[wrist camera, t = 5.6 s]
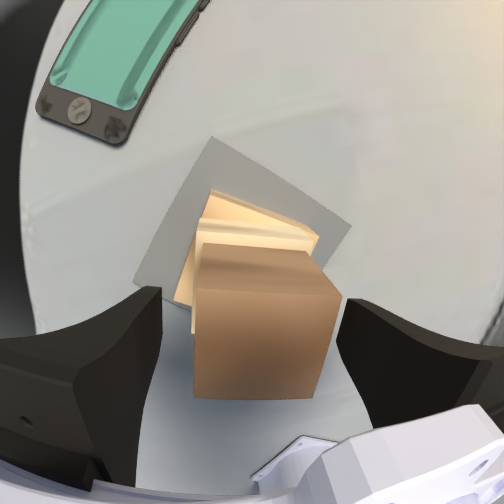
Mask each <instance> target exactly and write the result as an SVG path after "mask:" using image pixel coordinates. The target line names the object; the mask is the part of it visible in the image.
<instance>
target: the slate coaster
mask: <svg viewBox="0 0 504 504" xmlns="http://www.w3.org/2000/svg"><path fill="white" fill-rule="evenodd" d="M211 189H213V190H216V191H219V192H222V193H224V194H227V195H230V196H233V197H235V198H238V199H241V200H243V201H246V202H249V203H251V204H254V205H256V206H259V207H262V208H264V209H267V210H269V211H272V212H275V213H277V214H280V215H282V216H285V217H287V218H290V219H292V220H295V221H297V222H300V223H302V224H305V225H307V226H308V227H309V228H310V229H312V230H313V231H314V232H315V233H316V234H317V235H318V236H319V239H318V241H317V243H316V245H315V247H314V250H313V252H312V254H311V258H312V259H313V261H314V262H315V263H316V264H317V265H318V267H319V268H320V269H321V270H322V269H323V268H324V266H325V265H326V263H327V262H328V260H329V259H330V257H331V256H332V255H333V253H334V252H335V250H336V249H337V247H338V246H339V244H340V243H341V241H342V240H343V238H344V237H345V235H346V234H347V232H348V231H349V229H350V227H351V225H350V224H349V223H347V222H346V221H344V220H343V219H342V218H340V217H339V216H337V215H336V214H334V213H333V212H331V211H330V210H329V209H327V208H326V207H324V206H323V205H321V204H320V203H318V202H317V201H315V200H314V199H312V198H311V197H309V196H308V195H306V194H305V193H303V192H302V191H300V190H299V189H297V188H296V187H294V186H293V185H291V184H290V183H288V182H287V181H285V180H283V179H282V178H280V177H279V176H277V175H276V174H274V173H272V172H271V171H269V170H268V169H266V168H264V167H263V166H261V165H260V164H258V163H256V162H255V161H253V160H251V159H250V158H248V157H247V156H245V155H243V154H242V153H240V152H238V151H237V150H235V149H233V148H231V147H230V146H228V145H226V144H225V143H223V142H221V141H219V140H218V139H216V138H214V137H213V136H211V138H210V139H209V141H208V143H207V144H206V146H205V147H204V149H203V151H202V152H201V154H200V156H199V157H198V159H197V161H196V162H195V164H194V166H193V167H192V169H191V171H190V173H189V174H188V176H187V178H186V179H185V181H184V183H183V185H182V186H181V188H180V190H179V192H178V194H177V195H176V197H175V199H174V201H173V203H172V204H171V206H170V208H169V210H168V212H167V214H166V215H165V217H164V219H163V221H162V223H161V225H160V227H159V229H158V231H157V232H156V234H155V236H154V238H153V240H152V242H151V244H150V246H149V248H148V250H147V252H146V254H145V256H144V258H143V260H142V262H141V264H140V266H139V268H138V271H137V273H136V275H135V277H134V279H133V281H132V282H134V283H136V284H138V285H139V286H141V287H144V286H156V287H162V298H164V299H166V300H168V301H170V302H172V303H174V304H176V305H178V306H180V307H182V308H184V309H186V310H188V311H190V312H192V306H189V305H186V304H183V303H180V302H177V301H174V300H173V299H174V295H175V292H176V288H177V284H178V281H179V278H180V275H181V272H182V269H183V266H184V263H185V260H186V257H187V254H188V251H189V248H190V246H191V243H192V240H193V237H194V234H195V231H196V229H197V226H198V223H199V219H200V217H201V215H202V212H203V209H204V207H205V204H206V201H207V198H208V196H209V193H210V191H211Z"/></svg>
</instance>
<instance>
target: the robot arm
mask: <svg viewBox="0 0 504 504" xmlns="http://www.w3.org/2000/svg"><path fill="white" fill-rule="evenodd" d="M162 334H163V330H162V287H156V286H144V287H143V288H141V289H139V290H138V291H136V292H135V293H133V294H132V295H130V296H129V297H127V298H126V299H124V300H123V301H121V302H120V303H118V304H116V305H115V306H113V307H111V308H109V309H108V310H106V311H104V312H102V313H101V314H99V315H97V316H95V317H93V318H90V319H88V320H86V321H83V322H81V323H78V324H76V325H73V326H69V327H66V328H63V329H60V330H57V331H53V332H49V333H44V334H39V335H34V336H27V337H18V338H6V339H0V504H491V503H492V502H494V501H495V500H497V499H498V498H499V497H500V496H502V495H503V494H504V347H497V346H486V345H480V344H474V343H469V342H464V341H461V340H457V339H453V338H449V337H446V336H443V335H440V334H438V333H435V332H432V331H429V330H427V329H425V328H422V327H420V326H418V325H416V324H413V323H411V322H409V321H407V320H405V319H403V318H401V317H399V316H397V315H395V314H393V313H391V312H389V311H387V310H385V309H383V308H381V307H379V306H377V305H375V304H373V303H371V302H369V301H366V300H363V299H349V298H348V299H347V303H346V307H345V310H344V314H343V318H342V321H341V325H340V328H339V332H338V335H337V338H336V343H337V347H338V350H339V353H340V356H341V359H342V361H343V363H344V365H345V367H346V369H347V371H348V373H349V375H350V377H351V379H352V381H353V382H354V384H355V386H356V388H357V390H358V392H359V394H360V396H361V398H362V400H363V402H364V404H365V406H366V409H367V412H368V415H369V417H370V420H371V423H372V426H373V430H370V431H367V432H364V433H361V434H357V435H354V436H351V437H348V438H346V439H345V440H343V441H341V442H339V443H337V442H332V441H326V440H321V439H316V438H311V437H306V436H301V437H299V438H298V439H297V440H296V441H295V442H293V443H292V444H291V445H290V446H289V447H288V448H287V449H285V450H284V451H283V452H282V453H281V454H279V455H278V456H277V457H276V458H275V459H273V460H272V461H271V462H270V463H268V464H267V465H266V466H265V467H263V468H262V469H261V470H260V471H258V472H257V473H256V474H254V475H253V476H252V477H251V479H252V480H253V481H257V482H258V483H259V490H260V494H257V495H236V496H224V495H196V494H182V493H171V492H162V491H154V490H147V489H140V488H135V484H136V467H137V455H138V445H139V436H140V428H141V421H142V415H143V408H144V404H145V400H146V396H147V393H148V389H149V386H150V383H151V380H152V376H153V373H154V370H155V367H156V363H157V360H158V357H159V352H160V346H161V340H162Z"/></svg>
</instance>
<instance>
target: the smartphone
mask: <svg viewBox="0 0 504 504" xmlns="http://www.w3.org/2000/svg"><path fill="white" fill-rule="evenodd" d="M209 1H210V0H90V2H89V3H88V5H87V6H86V8H85V9H84V11H83V12H82V14H81V16H80V17H79V19H78V20H77V22H76V24H75V25H74V27H73V29H72V30H71V32H70V34H69V36H68V37H67V39H66V41H65V43H64V44H63V46H62V48H61V50H60V52H59V54H58V56H57V58H56V60H55V62H54V64H53V66H52V68H51V70H50V72H49V74H48V76H47V78H46V81H45V83H44V85H43V87H42V90H41V92H40V94H39V97H38V99H37V102H36V106H35V108H36V112H37V113H38V114H39V115H42V116H44V117H47V118H50V119H52V120H55V121H58V122H60V123H63V124H65V125H68V126H70V127H73V128H75V129H78V130H80V131H83V132H85V133H88V134H90V135H93V136H95V137H98V138H100V139H103V140H105V141H107V142H110V143H122V142H124V141H125V140H126V139H127V138H128V136H129V134H130V131H131V129H132V127H133V125H134V123H135V121H136V119H137V117H138V114H139V112H140V110H141V108H142V106H143V104H144V102H145V100H146V98H147V96H148V94H149V93H150V91H151V89H152V87H153V85H154V83H155V81H156V79H157V78H158V76H159V74H160V72H161V70H162V69H163V67H164V65H165V63H166V62H167V60H168V58H169V57H170V55H171V53H172V52H173V50H174V48H175V47H176V45H179V44H181V42H182V41H183V39H184V38H185V36H186V35H187V33H188V31H189V30H190V28H191V27H192V25H193V24H194V22H195V21H196V19H197V18H198V16H199V10H202V9H204V8H205V6H206V5H207V3H208V2H209Z"/></svg>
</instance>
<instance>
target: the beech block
mask: <svg viewBox="0 0 504 504" xmlns="http://www.w3.org/2000/svg"><path fill="white" fill-rule="evenodd" d="M203 243H215V244H227V245H240V246H252V247H264V248H276V249H288V250H300V251H306V252H307V253H308V255H309V256H310V257H311V252H312V246H313V240H312V239H311V238H310V237H309V236H308V235H307V234H306V233H305V232H304V231H303V230H301V229H300V228H299V227H292V226H283V225H273V224H262V223H252V222H241V221H230V220H219V219H207V218H200V219H199V223H198V227H197V231H196V244H195V260H194V277H193V297H192V323H191V334H195V313H196V291H197V282H198V275H199V268H200V261H201V254H202V248H203Z"/></svg>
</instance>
